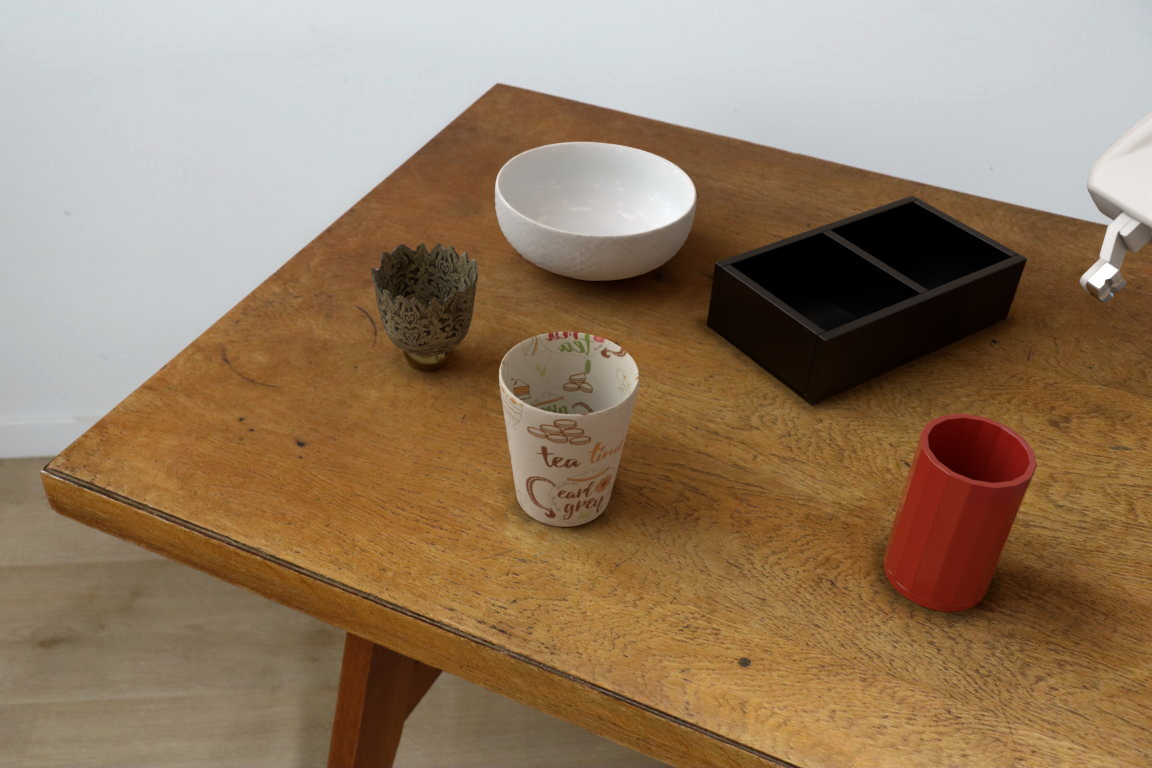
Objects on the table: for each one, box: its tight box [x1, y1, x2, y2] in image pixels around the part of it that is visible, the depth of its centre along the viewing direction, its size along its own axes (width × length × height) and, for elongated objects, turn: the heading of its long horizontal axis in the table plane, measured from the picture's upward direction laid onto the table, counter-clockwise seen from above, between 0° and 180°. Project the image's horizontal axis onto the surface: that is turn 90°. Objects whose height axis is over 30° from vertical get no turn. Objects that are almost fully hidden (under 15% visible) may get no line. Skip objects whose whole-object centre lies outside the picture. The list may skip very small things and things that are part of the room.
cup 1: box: [370, 242, 479, 371], centre depth 80 cm, size 8×7×8 cm
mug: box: [498, 331, 641, 528], centre depth 70 cm, size 8×13×10 cm, turn 166°
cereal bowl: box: [494, 141, 698, 282], centre depth 93 cm, size 17×17×7 cm
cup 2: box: [882, 413, 1038, 613], centre depth 65 cm, size 6×6×10 cm
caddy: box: [706, 195, 1028, 406], centre depth 87 cm, size 22×12×6 cm, turn 124°
